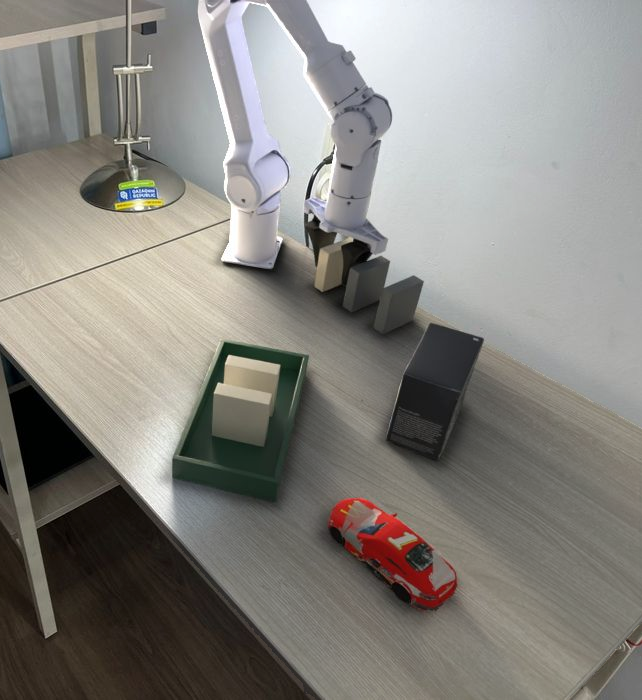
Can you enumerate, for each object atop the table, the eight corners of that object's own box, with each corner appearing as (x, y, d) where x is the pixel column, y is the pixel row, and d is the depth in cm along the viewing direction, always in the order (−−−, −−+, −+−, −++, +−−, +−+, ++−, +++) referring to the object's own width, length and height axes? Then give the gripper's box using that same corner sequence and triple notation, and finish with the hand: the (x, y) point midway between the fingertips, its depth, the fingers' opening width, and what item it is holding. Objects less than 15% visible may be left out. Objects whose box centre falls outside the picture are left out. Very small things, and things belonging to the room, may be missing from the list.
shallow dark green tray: (219, 357, 90) (221, 338, 88) (306, 373, 87) (309, 354, 85) (171, 478, 74) (172, 458, 72) (275, 502, 72) (278, 483, 70)
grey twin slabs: (342, 306, 99) (349, 267, 95) (372, 293, 101) (381, 255, 97) (382, 334, 94) (392, 294, 90) (413, 320, 96) (424, 281, 92)
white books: (225, 396, 83) (228, 354, 79) (275, 406, 82) (280, 364, 78) (211, 435, 78) (213, 393, 74) (263, 447, 77) (269, 404, 73)
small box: (408, 386, 86) (428, 318, 79) (462, 405, 83) (487, 337, 76) (381, 440, 78) (401, 370, 72) (439, 462, 76) (465, 392, 69)
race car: (315, 526, 69) (320, 500, 67) (352, 500, 72) (359, 475, 69) (423, 625, 61) (433, 600, 59) (460, 592, 64) (472, 567, 61)
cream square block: (314, 286, 103) (320, 248, 99) (343, 274, 105) (350, 237, 101) (322, 292, 101) (328, 254, 97) (352, 280, 104) (359, 242, 100)
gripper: (292, 176, 97) (282, 259, 105) (367, 218, 87) (349, 306, 96) (329, 165, 100) (317, 247, 108) (406, 204, 90) (385, 291, 99)
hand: (334, 274), depth 102 cm, fingers open, 5 cm apart
